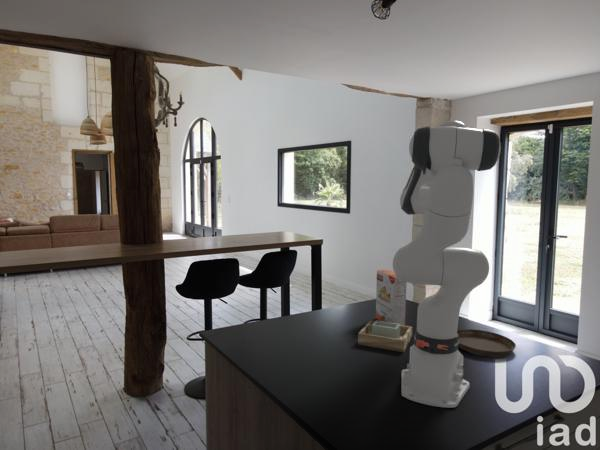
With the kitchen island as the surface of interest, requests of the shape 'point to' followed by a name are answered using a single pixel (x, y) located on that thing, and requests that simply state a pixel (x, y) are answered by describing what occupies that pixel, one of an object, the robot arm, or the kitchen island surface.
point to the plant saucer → (485, 343)
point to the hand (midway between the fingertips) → (433, 259)
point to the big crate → (385, 338)
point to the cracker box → (390, 298)
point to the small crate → (386, 329)
